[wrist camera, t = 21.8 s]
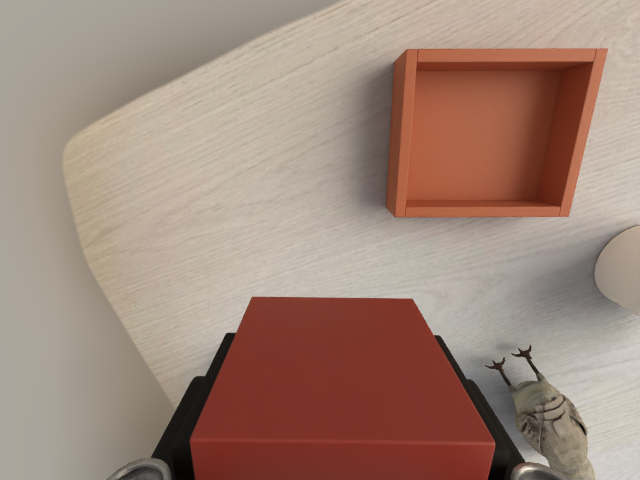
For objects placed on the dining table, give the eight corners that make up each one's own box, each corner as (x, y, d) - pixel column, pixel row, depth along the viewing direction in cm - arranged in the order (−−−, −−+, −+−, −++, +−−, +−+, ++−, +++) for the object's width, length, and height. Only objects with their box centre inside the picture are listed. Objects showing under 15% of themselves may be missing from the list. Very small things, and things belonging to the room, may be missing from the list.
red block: (258, 422, 11) (214, 624, 7) (251, 296, 10) (187, 440, 5) (398, 424, 11) (455, 627, 7) (413, 298, 10) (497, 443, 5)
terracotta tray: (385, 207, 29) (394, 217, 25) (394, 61, 25) (406, 48, 22) (538, 207, 29) (568, 216, 25) (568, 60, 25) (608, 48, 22)
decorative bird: (530, 457, 37) (579, 531, 30) (475, 357, 33) (518, 416, 26) (575, 438, 37) (637, 510, 29) (525, 333, 32) (583, 387, 25)
